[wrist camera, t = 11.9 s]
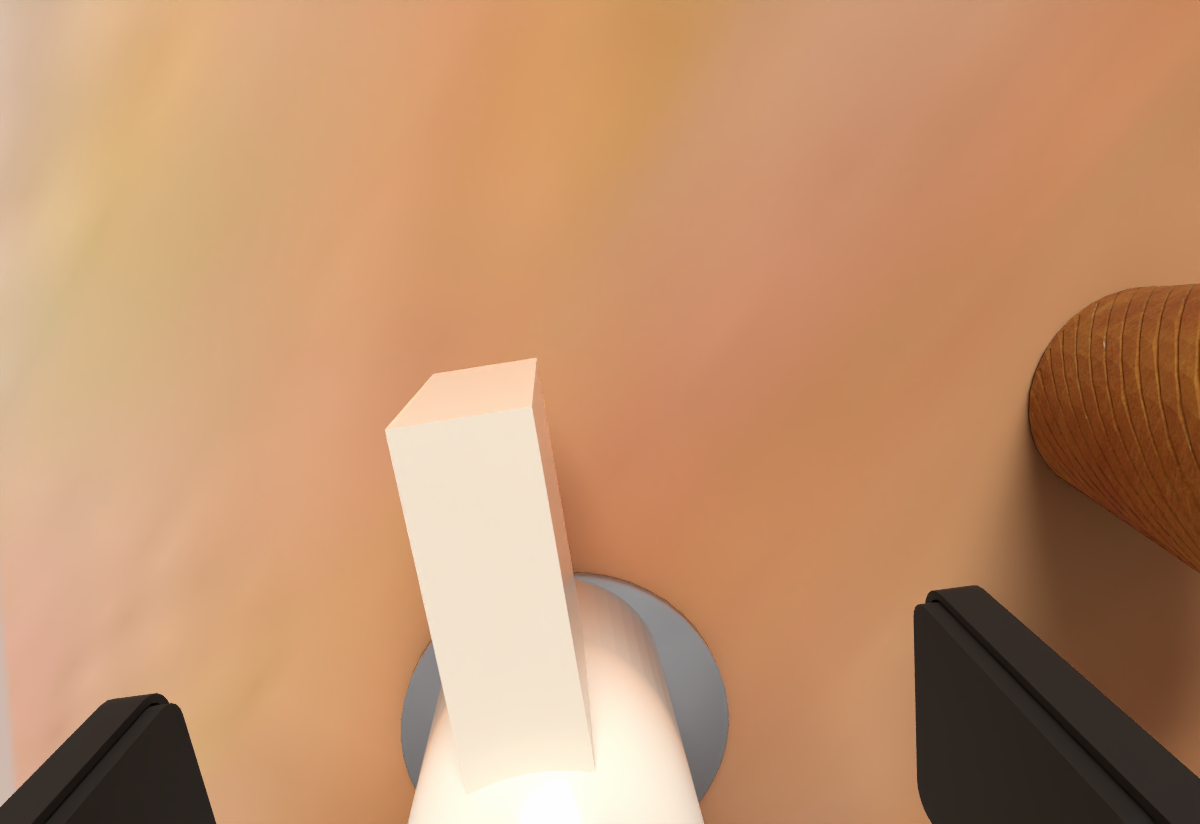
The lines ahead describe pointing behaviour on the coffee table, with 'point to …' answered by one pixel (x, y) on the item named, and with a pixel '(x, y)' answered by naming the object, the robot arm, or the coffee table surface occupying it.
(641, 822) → the white lever knob
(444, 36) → the coffee table surface
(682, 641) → the grey round disc
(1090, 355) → the disposable coffee cup
